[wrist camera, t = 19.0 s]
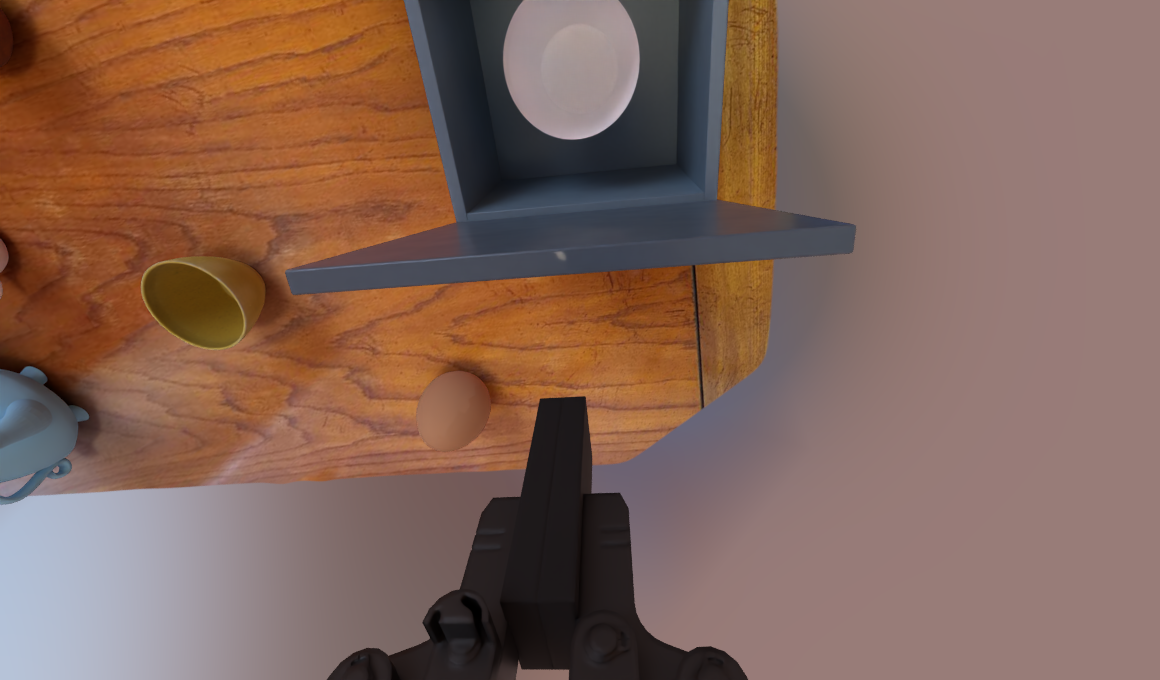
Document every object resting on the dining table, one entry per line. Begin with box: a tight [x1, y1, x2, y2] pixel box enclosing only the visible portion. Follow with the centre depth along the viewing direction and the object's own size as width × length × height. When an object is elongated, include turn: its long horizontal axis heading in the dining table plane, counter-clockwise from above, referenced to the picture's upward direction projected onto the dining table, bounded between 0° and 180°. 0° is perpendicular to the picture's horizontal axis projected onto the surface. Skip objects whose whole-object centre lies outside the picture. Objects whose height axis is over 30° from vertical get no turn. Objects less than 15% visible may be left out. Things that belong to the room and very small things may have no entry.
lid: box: [285, 200, 856, 295], centre depth 23 cm, size 18×19×1 cm
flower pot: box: [141, 256, 266, 350], centre depth 48 cm, size 10×10×7 cm
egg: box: [416, 371, 491, 452], centre depth 52 cm, size 8×8×11 cm
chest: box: [404, 0, 729, 222], centre depth 33 cm, size 17×19×14 cm
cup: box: [503, 0, 640, 140], centre depth 33 cm, size 9×9×12 cm
